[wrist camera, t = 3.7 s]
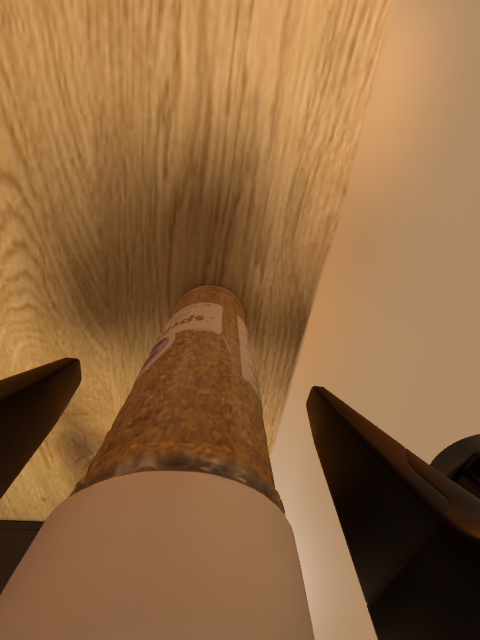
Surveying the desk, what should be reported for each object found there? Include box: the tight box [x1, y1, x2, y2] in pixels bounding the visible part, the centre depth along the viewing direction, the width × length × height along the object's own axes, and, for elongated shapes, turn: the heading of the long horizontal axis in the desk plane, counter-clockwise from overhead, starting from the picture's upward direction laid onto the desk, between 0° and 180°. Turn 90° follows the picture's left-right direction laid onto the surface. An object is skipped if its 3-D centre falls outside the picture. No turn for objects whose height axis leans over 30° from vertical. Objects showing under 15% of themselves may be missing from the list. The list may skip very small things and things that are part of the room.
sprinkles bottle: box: [0, 285, 314, 640], centre depth 9 cm, size 5×5×13 cm
